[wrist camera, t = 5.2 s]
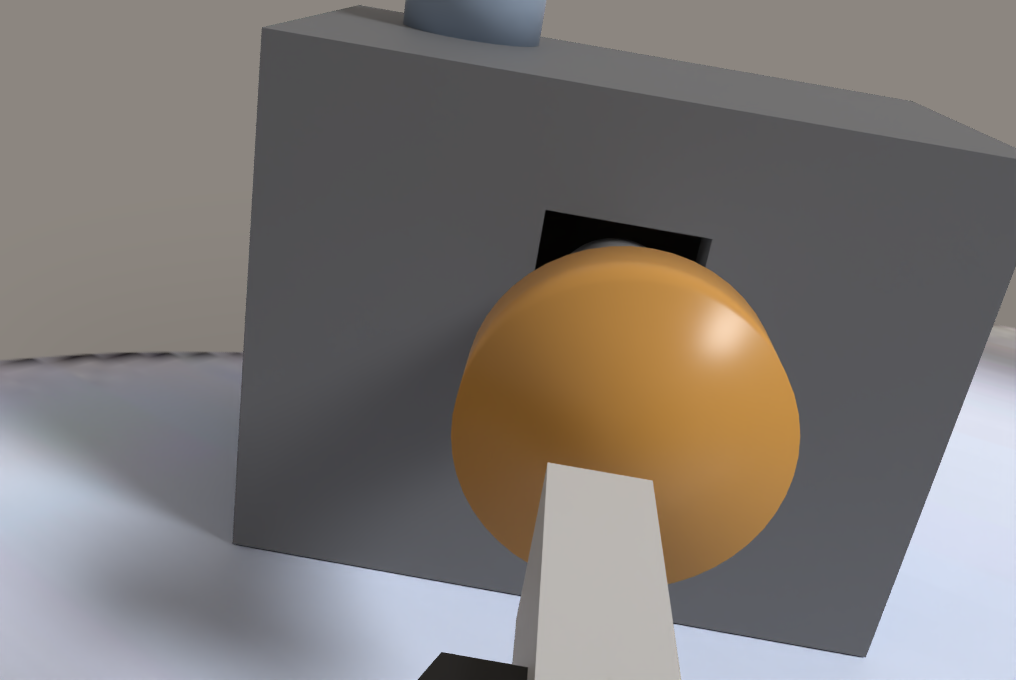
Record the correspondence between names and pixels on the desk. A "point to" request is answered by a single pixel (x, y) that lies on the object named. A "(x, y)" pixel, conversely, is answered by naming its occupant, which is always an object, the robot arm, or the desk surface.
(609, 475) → the robot arm
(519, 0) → the knob
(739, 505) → the knob
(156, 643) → the desk surface
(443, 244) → the housing
